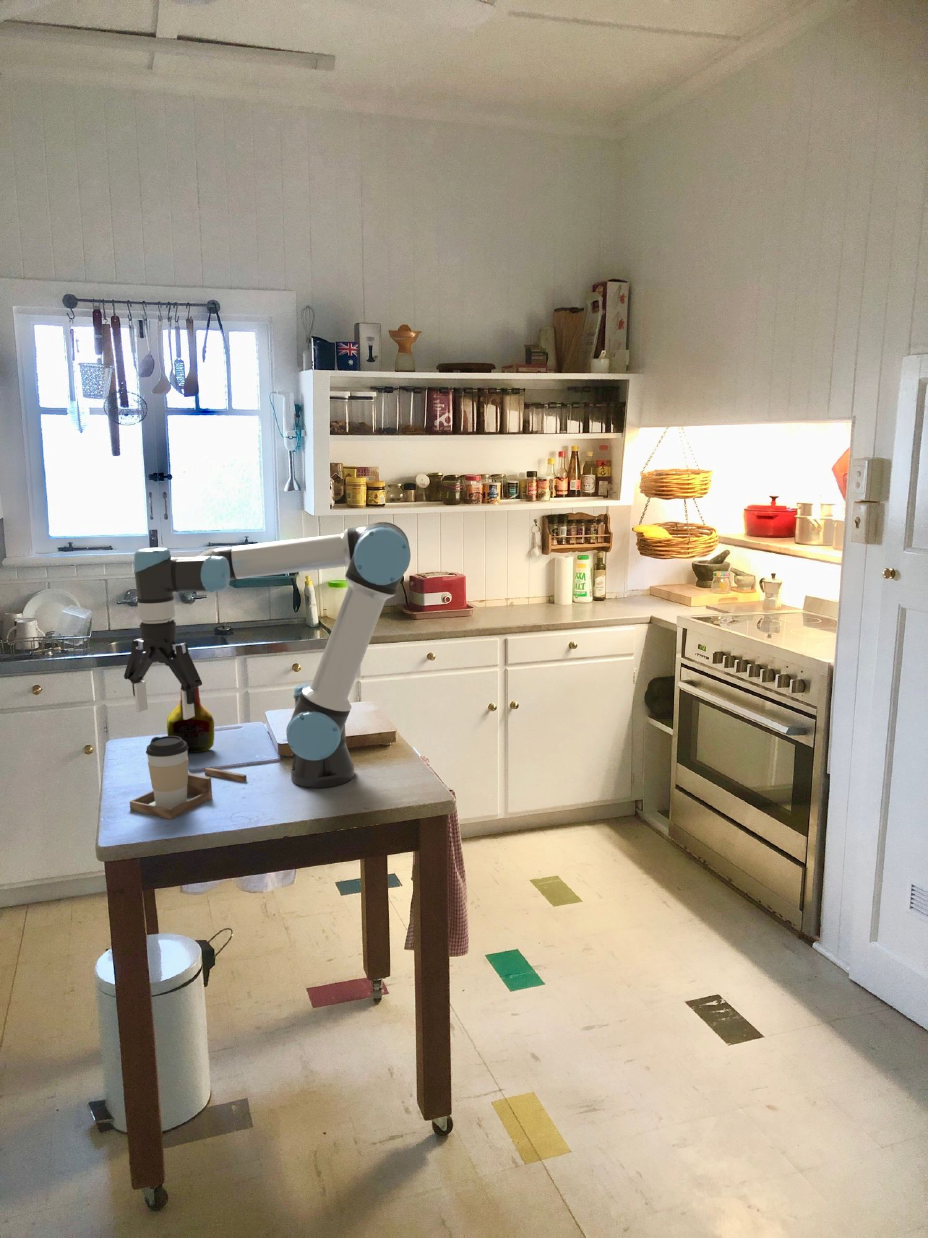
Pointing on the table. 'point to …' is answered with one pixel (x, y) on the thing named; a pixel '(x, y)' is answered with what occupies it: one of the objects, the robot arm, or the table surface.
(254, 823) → the table surface
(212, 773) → the rail
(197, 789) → the tray
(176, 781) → the coffee cup
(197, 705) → the bottle
